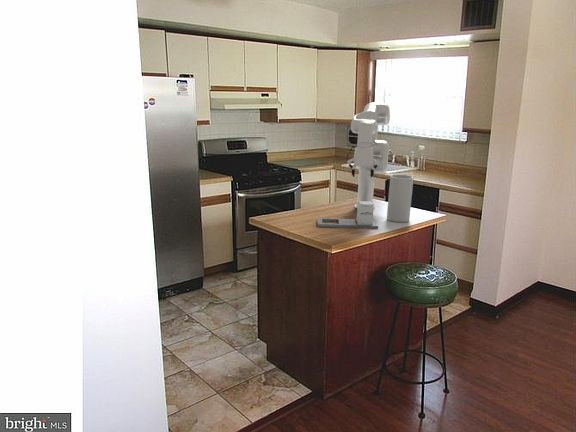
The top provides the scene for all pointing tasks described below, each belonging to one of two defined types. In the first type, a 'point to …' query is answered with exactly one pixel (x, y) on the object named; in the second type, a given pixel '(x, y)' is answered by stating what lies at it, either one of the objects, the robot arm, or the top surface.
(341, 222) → the grey flat plate
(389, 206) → the cylinder vase
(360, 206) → the supplement box
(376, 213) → the top surface
